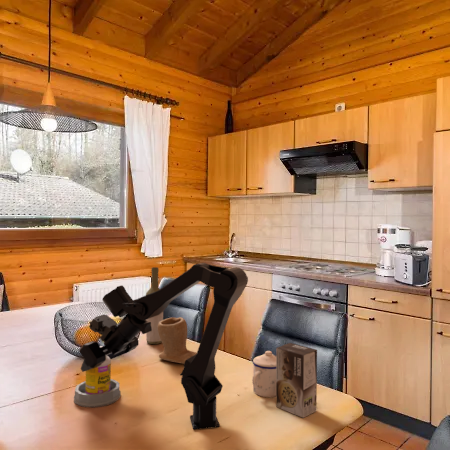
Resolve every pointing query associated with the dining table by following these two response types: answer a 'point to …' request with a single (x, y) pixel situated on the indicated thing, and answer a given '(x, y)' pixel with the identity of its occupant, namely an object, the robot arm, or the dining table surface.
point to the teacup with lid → (264, 375)
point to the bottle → (153, 335)
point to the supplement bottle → (99, 378)
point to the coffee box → (296, 379)
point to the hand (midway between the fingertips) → (93, 364)
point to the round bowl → (96, 396)
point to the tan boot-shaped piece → (174, 340)
